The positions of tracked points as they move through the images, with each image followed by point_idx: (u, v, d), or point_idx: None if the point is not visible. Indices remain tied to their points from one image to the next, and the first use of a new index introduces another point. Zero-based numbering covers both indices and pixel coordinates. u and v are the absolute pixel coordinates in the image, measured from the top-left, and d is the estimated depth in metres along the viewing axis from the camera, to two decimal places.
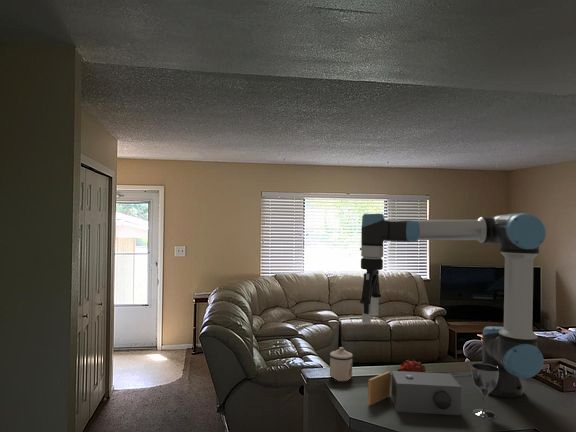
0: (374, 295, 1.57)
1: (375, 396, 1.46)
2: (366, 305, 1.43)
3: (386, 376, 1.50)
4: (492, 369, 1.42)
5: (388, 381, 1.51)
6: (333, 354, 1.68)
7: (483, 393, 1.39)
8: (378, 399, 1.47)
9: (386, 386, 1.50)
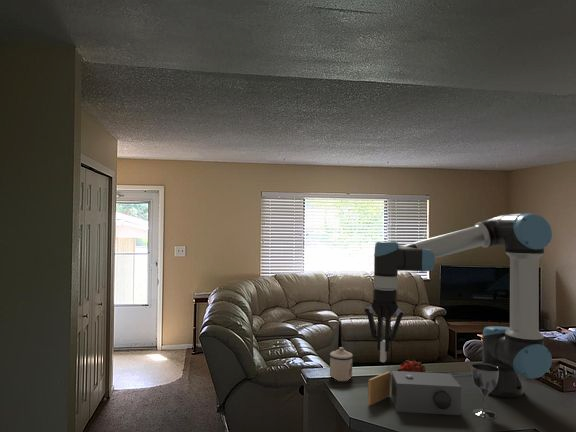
0: None
1: (375, 396, 1.46)
2: None
3: (386, 376, 1.50)
4: (492, 369, 1.42)
5: (388, 381, 1.51)
6: (333, 354, 1.68)
7: (483, 393, 1.39)
8: (378, 399, 1.47)
9: (386, 386, 1.50)
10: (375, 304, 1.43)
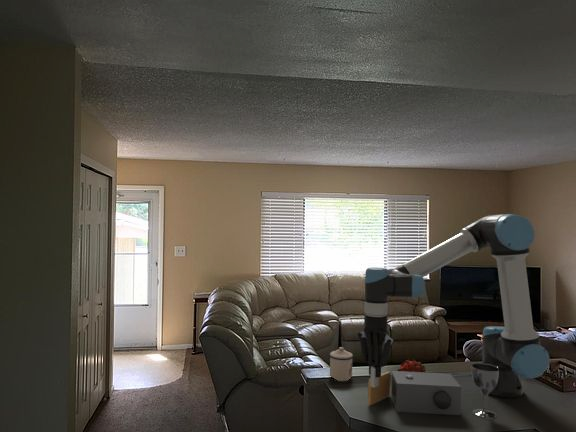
0: None
1: (375, 396, 1.46)
2: None
3: (386, 376, 1.50)
4: (492, 369, 1.42)
5: (388, 381, 1.51)
6: (333, 354, 1.68)
7: (483, 393, 1.39)
8: (378, 399, 1.47)
9: (386, 386, 1.50)
10: (366, 329, 1.46)
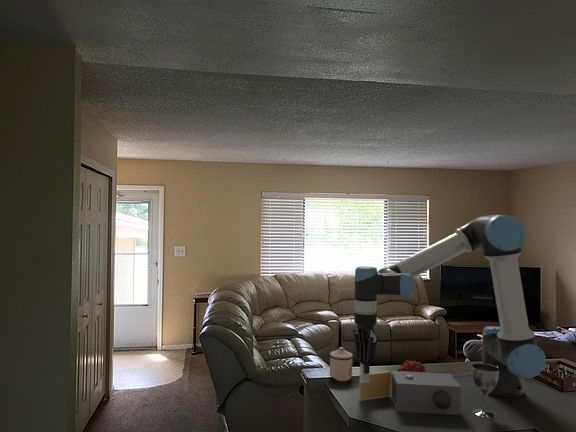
0: None
1: (367, 393, 1.49)
2: None
3: (384, 375, 1.51)
4: (492, 369, 1.42)
5: (387, 381, 1.52)
6: (333, 354, 1.68)
7: (483, 393, 1.39)
8: (372, 396, 1.49)
9: (384, 385, 1.51)
10: (358, 326, 1.50)
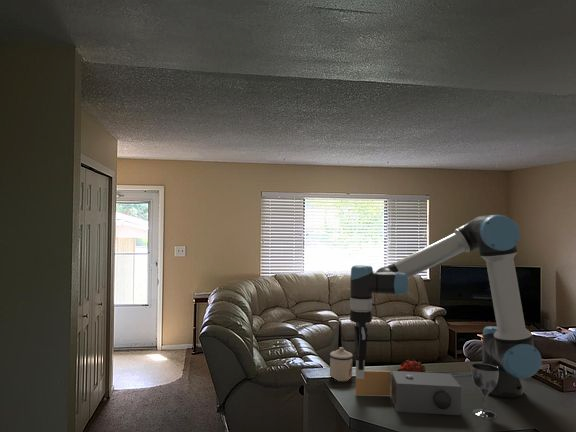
0: None
1: (364, 389, 1.52)
2: None
3: (383, 374, 1.52)
4: (492, 369, 1.42)
5: (387, 380, 1.52)
6: (333, 354, 1.68)
7: (483, 393, 1.39)
8: (369, 393, 1.52)
9: (383, 384, 1.52)
10: (356, 323, 1.55)
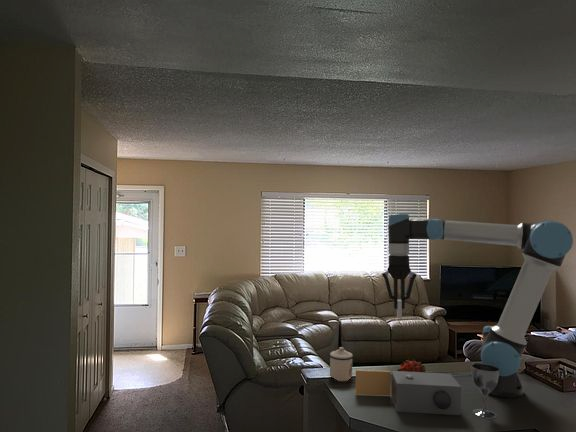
0: (401, 298, 1.64)
1: (364, 388, 1.52)
2: (394, 301, 1.64)
3: (383, 374, 1.52)
4: (492, 369, 1.42)
5: (387, 380, 1.52)
6: (333, 354, 1.68)
7: (483, 393, 1.39)
8: (369, 393, 1.52)
9: (383, 384, 1.52)
10: (391, 269, 1.63)
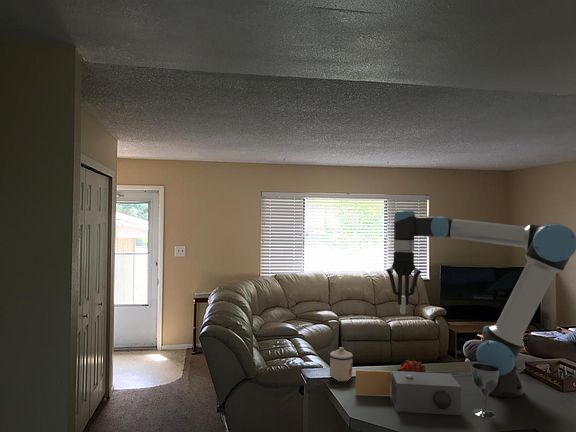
0: None
1: (364, 388, 1.52)
2: (398, 296, 1.66)
3: (383, 374, 1.52)
4: (492, 369, 1.42)
5: (387, 380, 1.52)
6: (333, 354, 1.68)
7: (483, 393, 1.39)
8: (369, 393, 1.52)
9: (383, 384, 1.52)
10: (396, 265, 1.65)
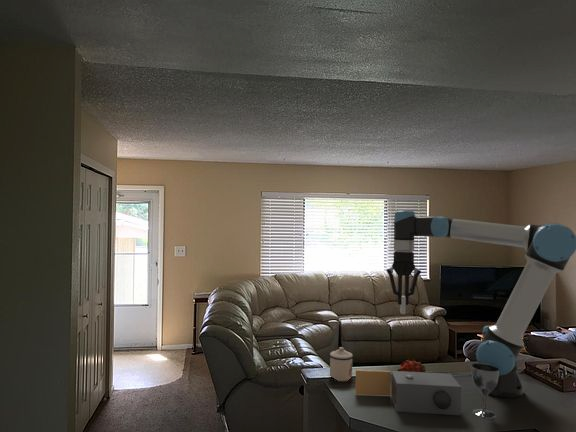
0: None
1: (364, 388, 1.52)
2: (398, 296, 1.66)
3: (383, 374, 1.52)
4: (492, 369, 1.42)
5: (387, 380, 1.52)
6: (333, 354, 1.68)
7: (483, 393, 1.39)
8: (369, 393, 1.52)
9: (383, 384, 1.52)
10: (396, 265, 1.65)
